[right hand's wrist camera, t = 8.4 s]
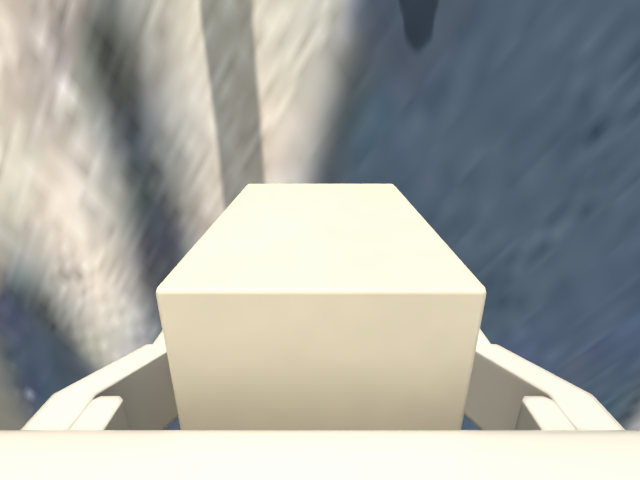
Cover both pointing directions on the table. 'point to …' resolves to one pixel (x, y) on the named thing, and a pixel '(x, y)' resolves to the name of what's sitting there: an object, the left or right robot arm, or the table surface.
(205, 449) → the right robot arm
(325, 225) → the brick
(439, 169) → the table surface
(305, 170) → the table surface
